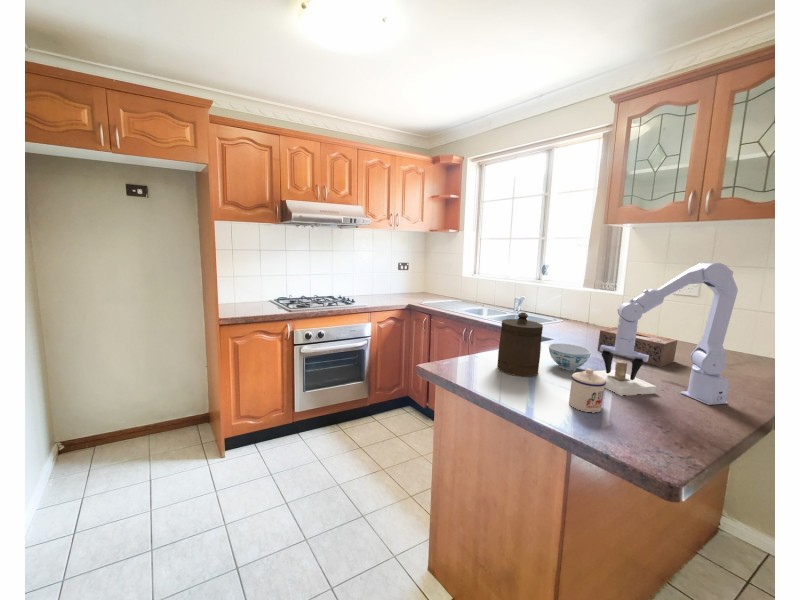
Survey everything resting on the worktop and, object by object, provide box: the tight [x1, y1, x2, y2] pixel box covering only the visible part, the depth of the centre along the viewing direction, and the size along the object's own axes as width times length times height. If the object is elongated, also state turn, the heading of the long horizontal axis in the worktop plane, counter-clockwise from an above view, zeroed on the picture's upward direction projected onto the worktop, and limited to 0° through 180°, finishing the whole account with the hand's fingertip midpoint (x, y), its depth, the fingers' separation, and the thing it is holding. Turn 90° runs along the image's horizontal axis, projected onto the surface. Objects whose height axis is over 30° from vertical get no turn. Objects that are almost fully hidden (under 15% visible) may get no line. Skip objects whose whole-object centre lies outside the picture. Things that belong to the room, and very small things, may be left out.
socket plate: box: [593, 369, 657, 397], centre depth 129 cm, size 16×14×2 cm
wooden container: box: [497, 312, 544, 378], centre depth 139 cm, size 15×15×22 cm
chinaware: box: [548, 342, 592, 371], centre depth 146 cm, size 15×15×8 cm
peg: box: [614, 360, 628, 381], centre depth 129 cm, size 3×3×8 cm
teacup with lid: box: [568, 367, 606, 414], centre depth 110 cm, size 12×9×12 cm
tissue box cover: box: [597, 327, 678, 368], centre depth 167 cm, size 26×14×10 cm, turn 36°
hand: (620, 375), depth 129 cm, fingers open, 7 cm apart
